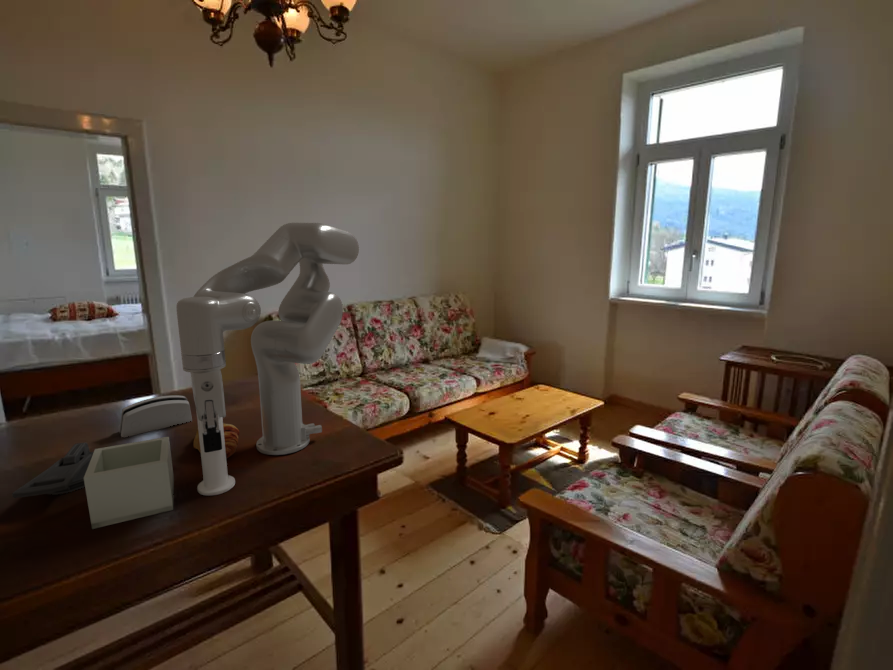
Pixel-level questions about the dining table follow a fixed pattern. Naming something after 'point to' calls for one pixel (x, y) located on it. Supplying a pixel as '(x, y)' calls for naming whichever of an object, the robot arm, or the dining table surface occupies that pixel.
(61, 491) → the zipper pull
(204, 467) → the candle
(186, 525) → the dining table surface
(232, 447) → the croissant
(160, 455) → the open square box
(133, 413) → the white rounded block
